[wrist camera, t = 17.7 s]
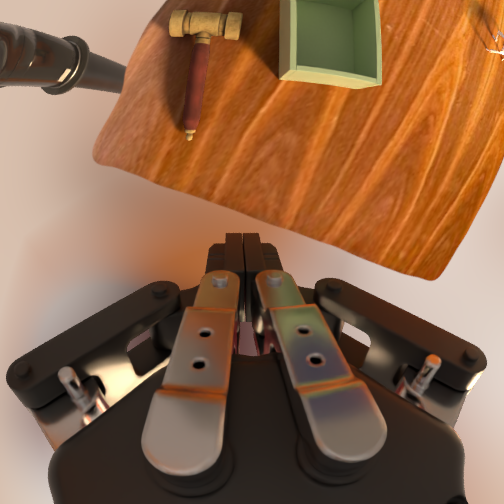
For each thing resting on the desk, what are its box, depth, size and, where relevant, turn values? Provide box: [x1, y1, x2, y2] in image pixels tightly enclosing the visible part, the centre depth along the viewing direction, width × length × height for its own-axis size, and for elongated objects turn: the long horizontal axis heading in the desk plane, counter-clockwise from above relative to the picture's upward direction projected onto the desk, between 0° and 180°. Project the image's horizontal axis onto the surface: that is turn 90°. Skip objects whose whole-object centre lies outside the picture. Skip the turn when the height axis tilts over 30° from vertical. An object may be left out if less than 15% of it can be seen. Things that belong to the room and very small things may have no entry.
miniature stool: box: [486, 30, 504, 61], centre depth 28 cm, size 12×8×5 cm
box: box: [279, 0, 382, 89], centre depth 30 cm, size 16×13×9 cm
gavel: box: [169, 10, 243, 140], centre depth 34 cm, size 21×5×10 cm
